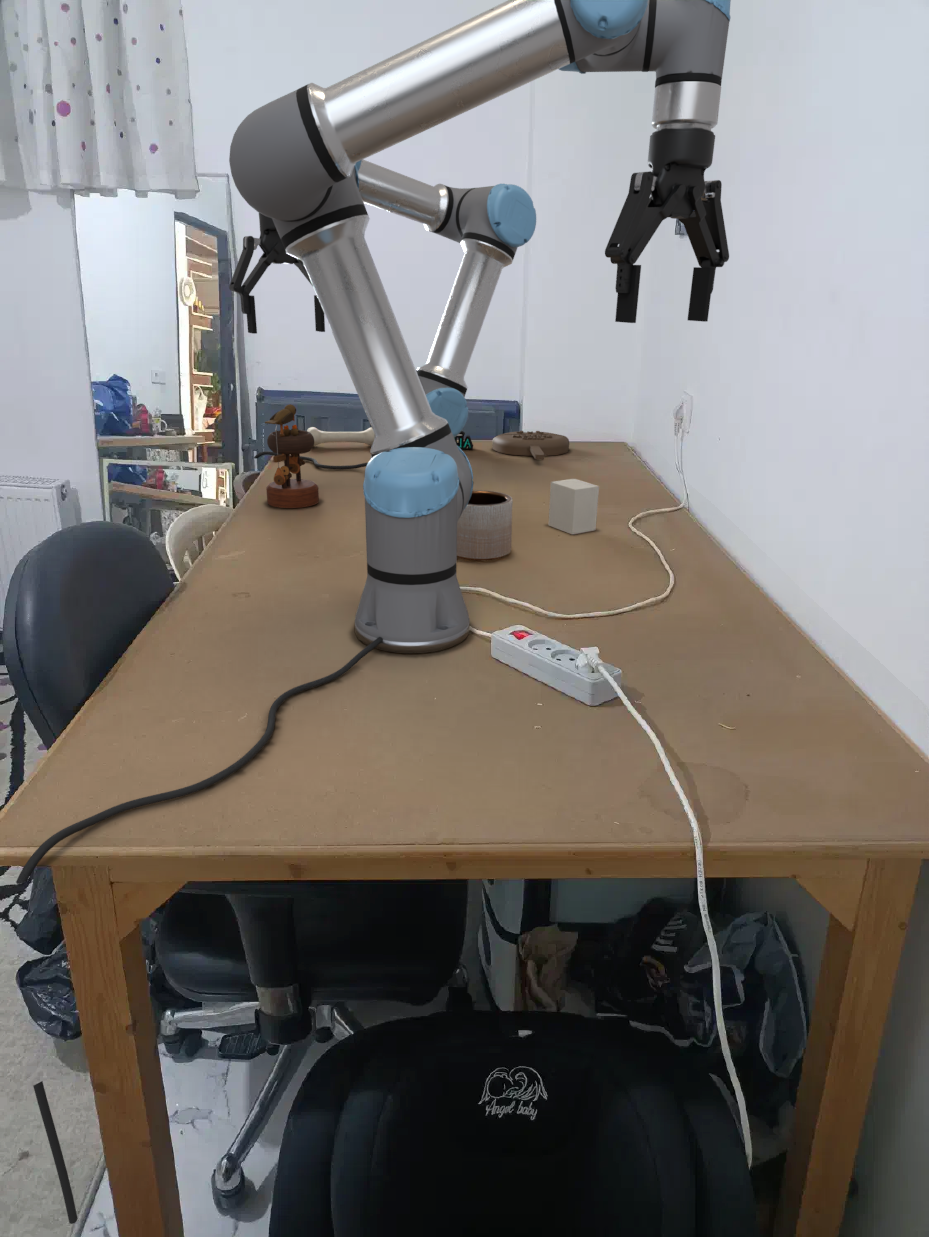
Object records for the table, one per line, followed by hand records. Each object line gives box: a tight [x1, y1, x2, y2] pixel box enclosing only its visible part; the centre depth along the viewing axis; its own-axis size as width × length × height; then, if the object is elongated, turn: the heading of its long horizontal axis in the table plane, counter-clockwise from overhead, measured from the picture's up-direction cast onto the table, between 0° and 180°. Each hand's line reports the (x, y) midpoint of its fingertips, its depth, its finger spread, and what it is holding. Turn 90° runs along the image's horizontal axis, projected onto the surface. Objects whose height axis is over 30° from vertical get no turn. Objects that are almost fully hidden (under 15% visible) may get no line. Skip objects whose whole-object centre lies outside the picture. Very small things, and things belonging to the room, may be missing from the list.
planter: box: [457, 489, 513, 562], centre depth 143 cm, size 11×11×10 cm
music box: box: [264, 403, 320, 509], centre depth 172 cm, size 15×11×20 cm
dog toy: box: [306, 426, 375, 447], centre depth 230 cm, size 20×6×5 cm, turn 99°
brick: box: [548, 478, 600, 535], centre depth 159 cm, size 6×7×8 cm
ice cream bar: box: [491, 430, 570, 461], centre depth 224 cm, size 21×28×4 cm
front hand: (662, 322), depth 107 cm, fingers open, 13 cm apart
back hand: (287, 332), depth 160 cm, fingers open, 13 cm apart
